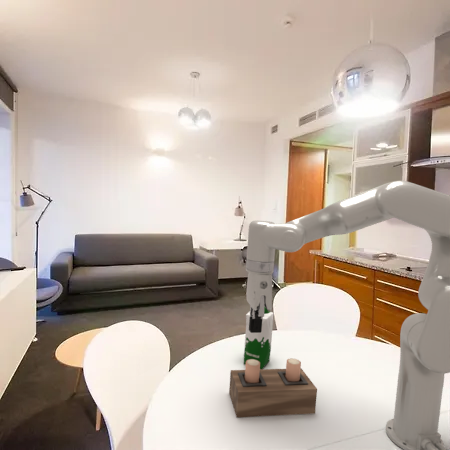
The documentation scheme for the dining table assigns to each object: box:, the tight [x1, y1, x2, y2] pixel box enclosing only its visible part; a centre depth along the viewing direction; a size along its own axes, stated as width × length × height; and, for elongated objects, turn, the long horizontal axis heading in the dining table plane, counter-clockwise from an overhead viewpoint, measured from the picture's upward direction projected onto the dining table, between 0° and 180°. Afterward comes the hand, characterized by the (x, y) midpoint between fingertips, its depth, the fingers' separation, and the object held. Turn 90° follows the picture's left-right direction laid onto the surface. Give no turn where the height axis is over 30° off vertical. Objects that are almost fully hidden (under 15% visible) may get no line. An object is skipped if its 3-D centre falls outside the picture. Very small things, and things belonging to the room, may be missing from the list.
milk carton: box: [243, 307, 275, 369], centre depth 116 cm, size 9×9×20 cm
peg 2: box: [285, 357, 302, 382], centre depth 94 cm, size 4×4×7 cm
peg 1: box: [244, 359, 260, 383], centre depth 92 cm, size 4×4×7 cm
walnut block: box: [228, 368, 318, 418], centre depth 94 cm, size 11×22×7 cm, turn 100°
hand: (254, 331), depth 91 cm, fingers closed
